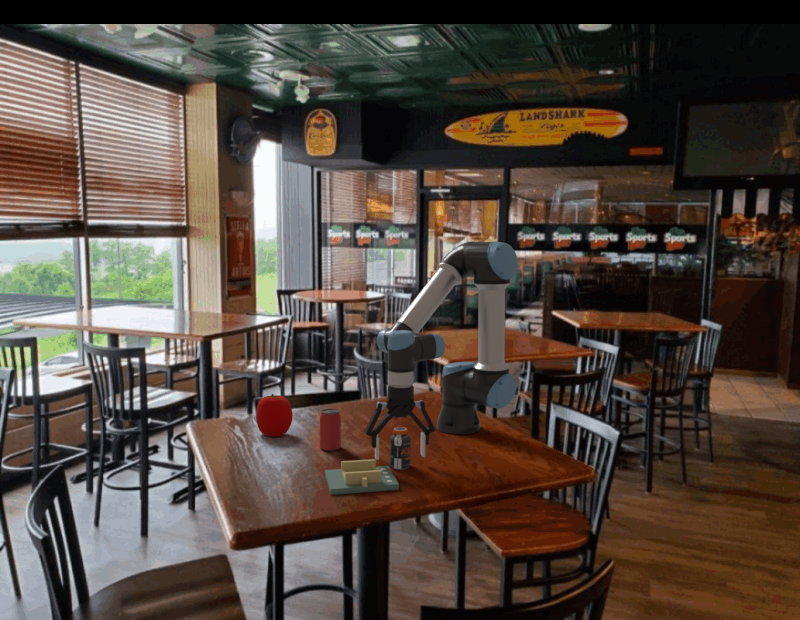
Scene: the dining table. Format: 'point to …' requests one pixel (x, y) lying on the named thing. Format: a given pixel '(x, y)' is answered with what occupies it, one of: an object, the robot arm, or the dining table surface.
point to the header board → (360, 478)
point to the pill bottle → (400, 449)
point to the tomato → (274, 415)
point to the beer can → (330, 430)
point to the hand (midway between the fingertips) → (400, 457)
